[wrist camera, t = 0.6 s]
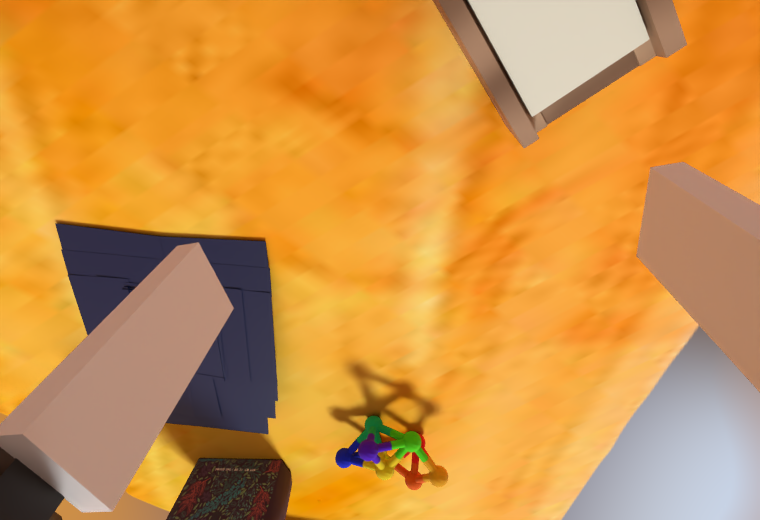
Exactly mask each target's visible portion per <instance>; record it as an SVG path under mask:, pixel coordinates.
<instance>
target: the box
mask: <svg viewBox="0 0 760 520" xmlns="http://www.w3.org/2000/svg"><path fill="white" fill-rule="evenodd" d="M635 1H636V4H637V7H638V9H639V12H640V15H641V17H642V20H643V23H644V25H645V28H646V31H647V33H648V36H649V40H648V41H646V42H645V43H643V44H642V45H640V46H639V47H637V48H636V49H634V50H633V51H631V52H630V53H628V54H627V55H625V56H624V57H622V58H621V59H619V60H618V61H616V62H615V63H613V64H611V65H610V66H608V67H607V68H605V69H604V70H602V71H601V72H599V73H598V74H596V75H595V76H593V77H592V78H590V79H589V80H587V81H586V82H584V83H583V84H581V85H580V86H578V87H577V88H575V89H574V90H572V91H571V92H569V93H568V94H566V95H565V96H563V97H562V98H560V99H559V100H557V101H556V102H554V103H553V104H551V105H550V106H548V107H547V108H545V109H544V110H542V111H541V112H539V113H538V114H536V115H535V116H533V117H531V116H530V115H529V113H528V111H527V110H526V108H525V106H524V104H523V102H522V100H521V99H520V97H519V95H518V93H517V91H516V90H515V88H514V86H513V84H512V82H511V80H510V79H509V77H508V75H507V73H506V71H505V69H504V68H503V66H502V64H501V62H500V60H499V59H498V57H497V55H496V53H495V51H494V49H493V48H492V46H491V44H490V42H489V40H488V39H487V37H486V35H485V33H484V31H483V29H482V28H481V26H480V24H479V22H478V20H477V19H476V17H475V15H474V13H473V11H472V9H471V8H470V6H469V4H468V2H467V0H433V2H434V3H435V5H436V7H437V8H438V10H439V12H440V14H441V15H442V17H443V19H444V20H445V22H446V24H447V26H448V27H449V29H450V31H451V32H452V34H453V36H454V38H455V39H456V41H457V43H458V44H459V46H460V48H461V49H462V51H463V53H464V55H465V56H466V58H467V60H468V61H469V63H470V65H471V67H472V68H473V70H474V72H475V73H476V75H477V77H478V79H479V80H480V82H481V84H482V85H483V87H484V89H485V91H486V92H487V94H488V96H489V97H490V99H491V101H492V103H493V104H494V106H495V108H496V109H497V111H498V113H499V114H500V116H501V118H502V120H503V121H504V123H505V125H506V126H507V128H508V129H509V130H510V132H511V133H512V134H513V135H514V137H515V138H516V139H517V140H518V142H519V143H520V144H521V145H522V147H523V148H525V147H527V146H529V145H530V144H532V143H533V142H535V141H536V140H538V139H539V137H538V135H537V132H539V131H540V130H542V129H543V128H545V127H546V126H547V125H548V124H549V123H551V122H552V121H554V120H555V119H557V118H558V117H560V116H562V115H563V114H565V113H566V112H568V111H569V110H571V109H572V108H574V107H576V106H577V105H579V104H580V103H582V102H583V101H585V100H586V99H588V98H590V97H591V96H593V95H594V94H596V93H597V92H599V91H600V90H602V89H603V88H605V87H607V86H608V85H610V84H611V83H613V82H614V81H616V80H617V79H619V78H621V77H622V76H624V75H625V74H627V73H628V72H630V71H631V70H633V69H634V68H636V67H638V66H641V65H643V64H644V63H646V62H647V61H649V60H650V59H652V58H654V57H655V56H660V57H665V58H667V57H669V56H670V55H672V54H673V53H675V52H676V51H678V50H680V49H681V48H683V47H684V46H686V45H687V43H686V40H685V37H684V34H683V31H682V28H681V25H680V22H679V19H678V16H677V13H676V10H675V7H674V4H673V1H672V0H635Z"/></svg>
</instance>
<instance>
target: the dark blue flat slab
mask: <svg viewBox="0 0 760 520" xmlns="http://www.w3.org/2000/svg"><path fill="white" fill-rule="evenodd" d="M55 224H56V223H55ZM56 228H57V231H58V235H59V238H60V242H61V246H62V249H63V250H62V254H63V257H64V261H65V264H66V268H67V271H68V277H69V280H70V283H71V286H72V289H73V292H74V295H75V298H76V301H77V304H78V307H79V310H80V313H81V316H82V319H83V322H84V325H85V328H86V331H87V334H88V335H89V334H90V333H91V332H92V331H93V330H94V329H95V328H96V327H97V326H98V325H99V324H100V323H101V322H102V321H103V320H104V319H105V318H106V317H107V316H108V315H109V314H110V313H111V312H112V311H113V310H114V309H115V308H116V307H117V306H118V305H119V304H120V303H121V302H122V301H123V300H124V299H125V298H126V297H127V296H128V295H129V294H130V293H131V292H132V291H133V290H134V289H135V288H136V287H137V286H138V285H139V284H140V283H141V282H142V281H143V280H144V279H145V278H146V277H147V276H148V275H149V274H150V273H151V272H152V271H153V270H154V269H155V268H156V267H157V266H158V265H159V264H160V263H161V262H162V261H163V260H164V259H165V258H166V257H167V256H168V255H169V254H170V253H171V252H172V251H173V250H174V249H175V248H176V247H177V246H179V245H185V244H191V243H197V242H199V244H200V246H201V248H202V250H203V252H204V253H205V255H206V257H207V259H208V261H209V263H210V265H211V266H212V268H213V270H214V272H215V274H216V276H217V278H218V280H219V281H220V283H221V285H222V287H223V289H224V291H225V293H226V295H227V296H228V298H229V300H230V302H231V304H232V306H233V308H234V309H233V311H232V312H231V314H230V316H229V317H228V319H227V321H226V322H225V324H224V326H223V327H222V329H221V331H220V332H219V334H218V336H217V337H216V339H215V341H214V342H213V344H212V346H211V347H210V349H209V351H208V353H207V354H206V356H205V358H204V359H203V361H202V363H201V364H200V366H199V368H198V369H197V371H196V373H195V374H194V376H193V378H192V379H191V381H190V383H189V384H188V386H187V388H186V389H185V391H184V393H183V394H182V396H181V398H180V399H179V401H178V403H177V404H176V406H175V408H174V409H173V411H172V413H171V414H170V416H169V418H168V419H167V421H166V423H171V424H182V425H192V426H202V427H211V428H219V429H228V430H237V431H245V432H254V433H262V434H268V419H267V417H268V418H276V416H275V401H278V392H277V374H276V360H275V345H274V330H273V315H272V301H271V297H272V295H271V281H270V268H269V267H268V259H267V250H266V242H265V241H244V240H223V239H201V238H179V237H159V236H151V235H143V234H135V233H127V232H120V231H112V230H104V229H96V228H88V227H80V226H72V225H64V224H56Z"/></svg>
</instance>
